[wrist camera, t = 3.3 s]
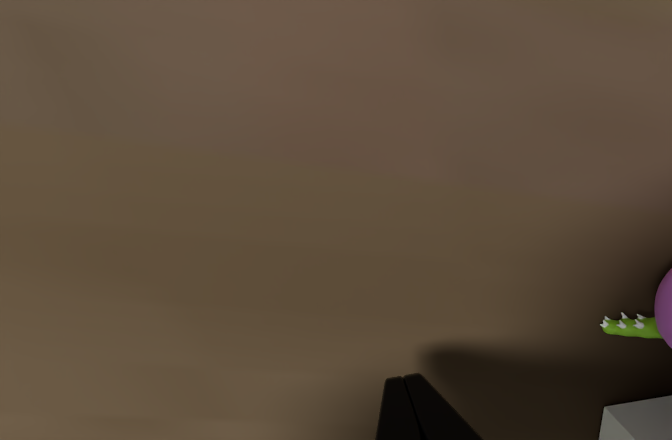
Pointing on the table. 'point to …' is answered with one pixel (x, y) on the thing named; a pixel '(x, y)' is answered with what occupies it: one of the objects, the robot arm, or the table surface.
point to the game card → (665, 324)
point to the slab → (638, 420)
